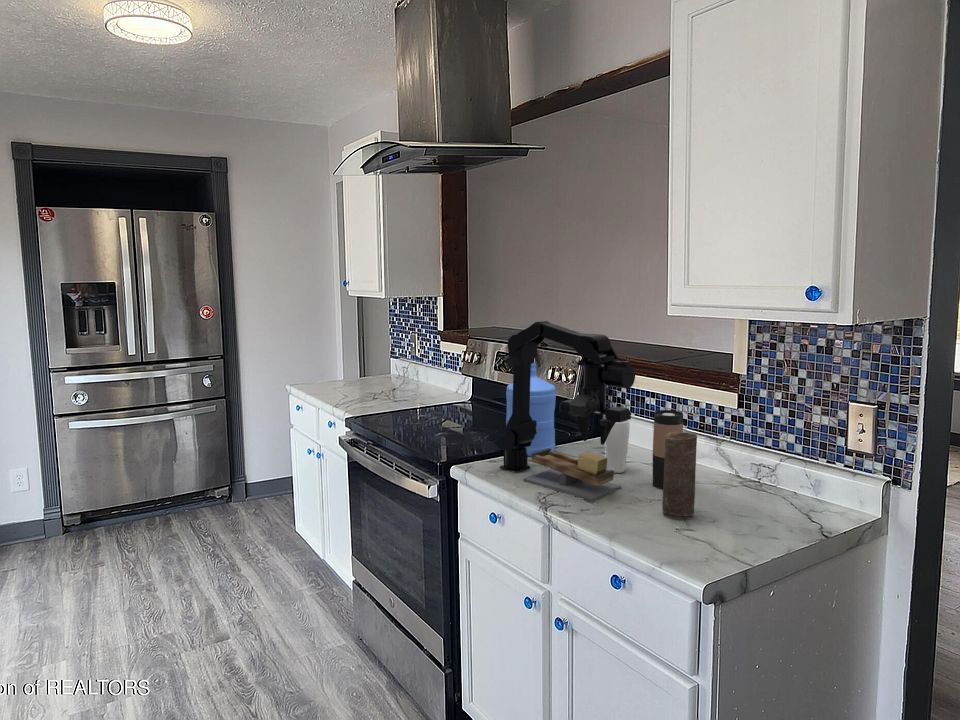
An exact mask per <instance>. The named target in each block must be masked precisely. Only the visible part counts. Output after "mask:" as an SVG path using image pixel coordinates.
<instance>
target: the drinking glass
mask: <svg viewBox="0 0 960 720" xmlns="http://www.w3.org/2000/svg"><path fill="white" fill-rule="evenodd" d="M629 439H630V420H626V421H623V422H618V423H617V422H616V423H615V424H614V426H613V428H612V429H611V431H610V433H609V435H608V437H607V439H606V441H605V451H606V457H607V467H606V470H608V471H609V470H613V471H614V474H623V473H625V472H626V469H627V457H628V449H629Z"/></svg>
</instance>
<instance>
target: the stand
mask: <svg viewBox="0 0 960 720" xmlns="http://www.w3.org/2000/svg"><path fill="white" fill-rule="evenodd" d="M522 481H523V482H525V483H529V484H531V485H536V486H539V487H543V488H546V489H550V490H554V491H556V492H557V491H558V492H560V493H564V494H568V495H571V496H575V497H578V498H582V499H585V500H588V501H592V502H593V501H595V500H598V499H600V498H602V497H604V496H607V495H609V494H612V493H614V492H616V491H618V490H621V489H622V485H620V484H616V483H613V482H610V481H609V482H607V483H605V484H602V485H600V486H596V485H593V484H591V483H588V482H585V481H583V480H580V479H577V478H575V477H572V476H569V475H567V474H564V473H561V472H559V471H556V470H553V469H551V468H548V469H546V470H544V471H540V472H537V473H534V474H532V475H530V476H526V477H523V478H522Z"/></svg>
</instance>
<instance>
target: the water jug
mask: <svg viewBox="0 0 960 720" xmlns="http://www.w3.org/2000/svg"><path fill="white" fill-rule="evenodd" d="M536 366H537V363H534V362H532V364H531V378H530V411H529V413H530V416H531V418H532V420H536V422H537V425H536V432H537V434H535V438H534V439H533V440H532V443H531V446H529V447H525V448H527V455H528V457H532V453H534V452H537V451H540V450H543V449H546V448H550V449H551V451H554V452H555V451H556V430H555V408H556V400H557V398H556V397H557V396H556V394H557V393H556V386H555V385H554V384H552V383H550V382H548V381H545V380H544V379H542V378H540V377H538V376H537V368H536ZM505 394H506V397H505V398H506V416H505V417H506V418H505V420H506V421H505V424H506V426H507V423H508V421H509V419H510V417H511V415H512V403H513V382H512V383H509V384H508V385H507V387H506V393H505Z"/></svg>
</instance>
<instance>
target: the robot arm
mask: <svg viewBox="0 0 960 720" xmlns="http://www.w3.org/2000/svg"><path fill="white" fill-rule="evenodd" d="M546 339H547V340H549V341H552V342H555V343H558V344H560V345H564V346H566V347H570V348H572V349H574V351H575V352H576V353H577V354H578V355H580V356H581V357H582V358H581V359H580V360H578V361H577V362H576V365H577V366H582V367H583V387H581V388H580V390H579V395H578V396H576V397H574V398H571V399H567V400H563V401H560V402H561V403H560V404H559V413H563V414H569V415H568V416H569V417H570V418H572V419H574V420H575V422H576V424H577V426H578V428H579V431H580V435H581V437H582V441H583V442H587V441H588V438H589V437H588V436H589V430H590V422H591V421H590V419H591V414H593V415H598V416H602V419H599V420H598V424H599V425H600V435H599V437H600V439H599V440H600V445H602V446H603V445H606V439H607V437H608V435H609V433H610V431H611V429H612V428H613V426H614V424H615V423H616V422H617V423H618V422H623V421H626V420H629V421H630V420H631V418H632V412H631V410H630V409H629V408H628V407H621V406H615V407H611V408H609V406H610V405H609V404H610V403H609V402H607V401H606V400H607V392H609V391H610V387H614V388H619V389H626V390H629V389H630V388H632V387H633V385H634V383H635V379H636V373H635V370H634V368H633V367H632V366H631V361H630V360H625V361H624V360H620V359H619V357H618V355H617V354H616V351H615V349H614V348H613V346H612V344H611V341H610V338H609V337H608V336H607V335H605V334H600V333H599V334H597V333H584V332H583V333H582V332H580V331H576V330H573V329H570V328H567V327H563V326H560V325H557V324H554V323H552V322H550V321H548V320H541V321H540V320H539V321H536V322H534V323H532V324H531V325H530V326H528V327H526V328H525V329H522V330H521V331H518V332H517V333H516V334H513V335H511V336H510V337H509V338H508V339H507V351H508V357H509V359H510V361H511V363H512V364H513V365H512V366H513V368H512V369H513V370H512V371H513V375H512V383H513V403H512V415H511V417H510V419H509V421H508V423H507V425H506V427H505V433H504V435H503V436H501V438H500V439H499V440H498V442H497V444H498V447H499V450H503V465H500V466H499V468H500V469H502V470H506V471H508V472H509V471H510V472H513V473H518V472H521V471H524V470H527V469H530V468H531V465H528V461H529V460H528V457H529V456H528V455H527V448H525V447H529V446H531V443H532V440H533V439H534V438H535V434H537V432H536V425H537V422H536V420H532V418H531V416H530V413H529V411H530V378H531V364H532V363H534V360H535V359H536V356H537V353H538V352H537V351H538V347H539V345H541V344H542V343H543V342H545V340H546Z"/></svg>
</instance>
